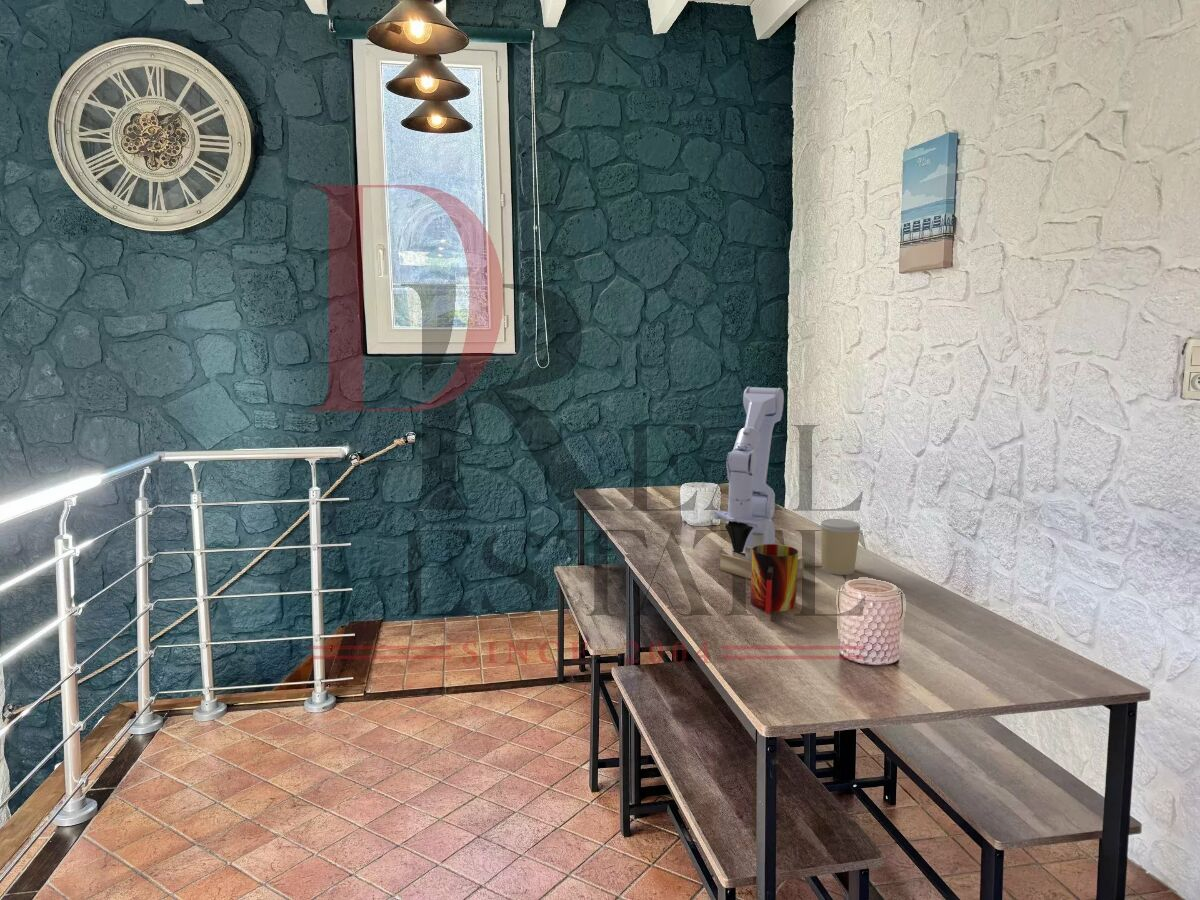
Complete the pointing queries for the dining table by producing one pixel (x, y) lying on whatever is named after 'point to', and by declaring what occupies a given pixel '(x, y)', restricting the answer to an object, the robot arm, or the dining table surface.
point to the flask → (755, 543)
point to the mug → (774, 577)
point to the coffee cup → (839, 545)
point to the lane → (749, 565)
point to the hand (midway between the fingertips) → (738, 551)
